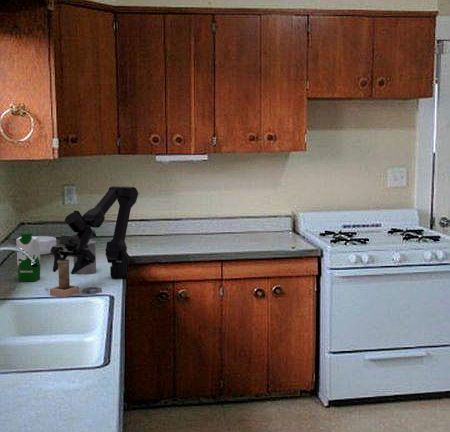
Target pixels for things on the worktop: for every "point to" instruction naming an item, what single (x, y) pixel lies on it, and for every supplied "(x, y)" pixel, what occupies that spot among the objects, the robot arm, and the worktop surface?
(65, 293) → the collar
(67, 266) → the peg
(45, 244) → the paper bowls
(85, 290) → the washer
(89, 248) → the pillar candle
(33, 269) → the milk carton
